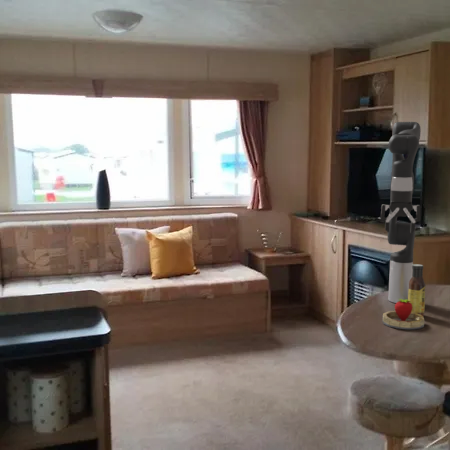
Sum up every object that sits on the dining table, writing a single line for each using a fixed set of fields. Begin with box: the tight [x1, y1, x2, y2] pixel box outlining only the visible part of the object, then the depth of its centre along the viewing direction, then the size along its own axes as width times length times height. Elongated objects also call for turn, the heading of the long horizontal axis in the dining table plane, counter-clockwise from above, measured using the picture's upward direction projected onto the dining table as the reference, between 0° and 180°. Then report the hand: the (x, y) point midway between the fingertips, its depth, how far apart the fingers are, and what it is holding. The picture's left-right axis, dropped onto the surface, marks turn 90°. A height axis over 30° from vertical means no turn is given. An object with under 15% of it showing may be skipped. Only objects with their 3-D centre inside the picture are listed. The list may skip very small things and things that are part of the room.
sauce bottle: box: [408, 263, 426, 317], centre depth 227 cm, size 7×6×20 cm
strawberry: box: [394, 299, 412, 321], centre depth 217 cm, size 6×8×10 cm
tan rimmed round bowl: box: [381, 310, 425, 331], centre depth 217 cm, size 15×15×3 cm
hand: (399, 232), depth 220 cm, fingers open, 8 cm apart
